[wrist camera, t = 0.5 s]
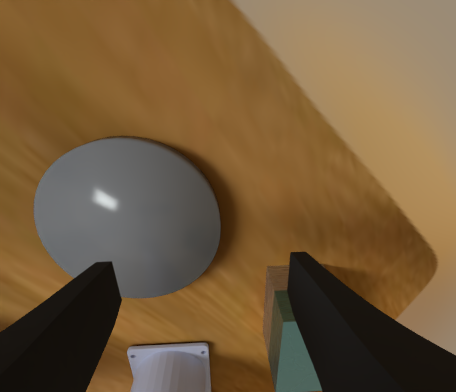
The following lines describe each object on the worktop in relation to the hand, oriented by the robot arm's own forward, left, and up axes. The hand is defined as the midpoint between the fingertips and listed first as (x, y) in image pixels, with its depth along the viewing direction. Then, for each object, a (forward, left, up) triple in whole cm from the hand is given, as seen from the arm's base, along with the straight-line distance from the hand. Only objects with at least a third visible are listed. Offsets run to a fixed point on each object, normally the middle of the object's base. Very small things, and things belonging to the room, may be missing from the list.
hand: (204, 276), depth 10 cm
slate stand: (-2, +6, -9) cm, 11 cm away
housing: (-11, -7, -9) cm, 16 cm away
